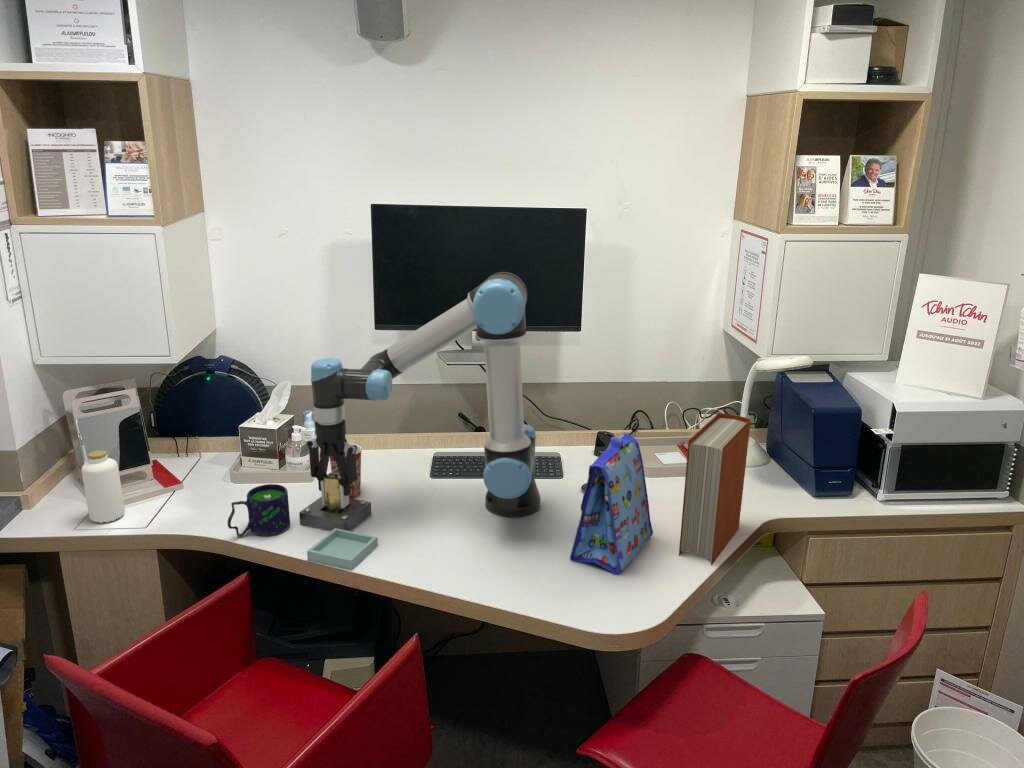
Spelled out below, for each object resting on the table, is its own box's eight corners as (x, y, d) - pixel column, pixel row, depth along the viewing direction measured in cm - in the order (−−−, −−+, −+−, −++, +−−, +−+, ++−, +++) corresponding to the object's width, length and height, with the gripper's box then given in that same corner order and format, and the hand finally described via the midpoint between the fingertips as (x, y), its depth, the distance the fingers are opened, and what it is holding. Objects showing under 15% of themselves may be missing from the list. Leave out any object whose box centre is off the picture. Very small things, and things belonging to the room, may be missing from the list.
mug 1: (285, 515, 204) (282, 480, 201) (294, 531, 196) (291, 495, 192) (225, 527, 197) (221, 492, 194) (231, 545, 189) (226, 508, 186)
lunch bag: (605, 523, 201) (610, 420, 193) (654, 537, 195) (662, 430, 186) (567, 560, 184) (572, 448, 175) (620, 577, 177) (628, 461, 168)
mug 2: (359, 501, 212) (356, 456, 208) (326, 500, 213) (323, 454, 209) (370, 482, 224) (368, 439, 220) (340, 480, 225) (337, 437, 221)
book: (711, 565, 182) (723, 447, 173) (678, 555, 186) (688, 440, 177) (740, 526, 201) (752, 418, 192) (709, 518, 205) (719, 412, 196)
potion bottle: (132, 513, 204) (122, 450, 198) (104, 527, 197) (94, 462, 191) (110, 507, 207) (100, 445, 202) (82, 520, 200) (71, 456, 194)
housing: (371, 514, 205) (370, 500, 204) (347, 534, 194) (346, 519, 193) (326, 505, 210) (325, 491, 208) (300, 524, 199) (299, 510, 198)
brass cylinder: (350, 516, 203) (347, 471, 199) (339, 524, 199) (336, 479, 195) (333, 513, 205) (330, 468, 201) (323, 521, 200) (319, 476, 197)
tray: (377, 545, 189) (377, 536, 189) (351, 569, 179) (351, 560, 178) (335, 536, 193) (335, 528, 192) (307, 559, 182) (306, 550, 182)
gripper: (369, 419, 194) (373, 503, 201) (308, 411, 200) (314, 492, 207) (352, 429, 187) (358, 516, 194) (290, 420, 193) (297, 504, 200)
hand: (335, 504), depth 201 cm, fingers closed on brass cylinder, 5 cm apart
